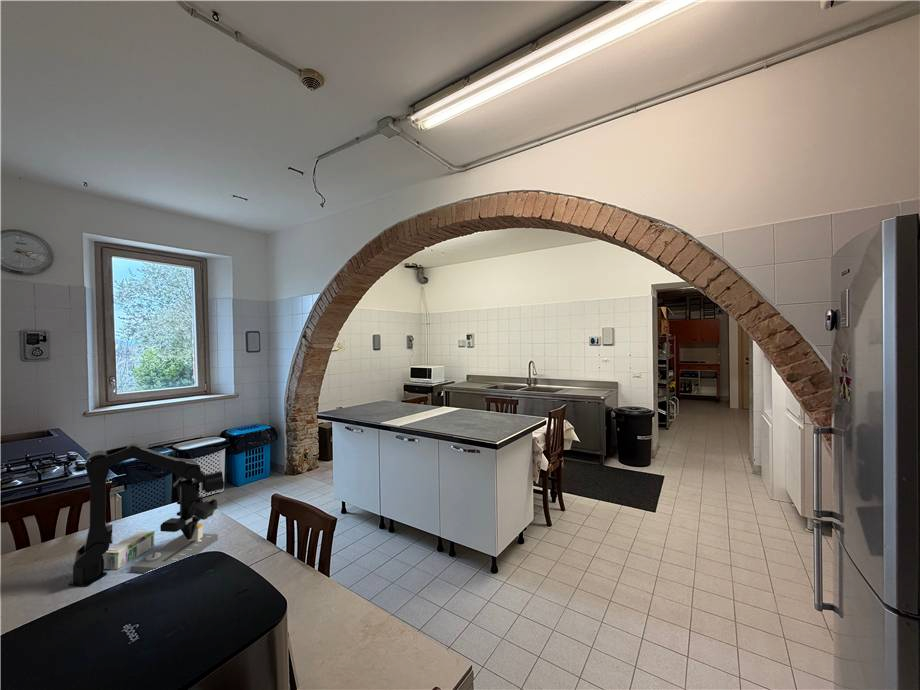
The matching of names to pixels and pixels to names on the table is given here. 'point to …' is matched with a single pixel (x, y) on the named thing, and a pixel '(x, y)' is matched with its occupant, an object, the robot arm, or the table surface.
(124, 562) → the syrup box
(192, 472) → the robot arm
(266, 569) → the table surface
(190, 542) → the console
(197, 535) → the fader
